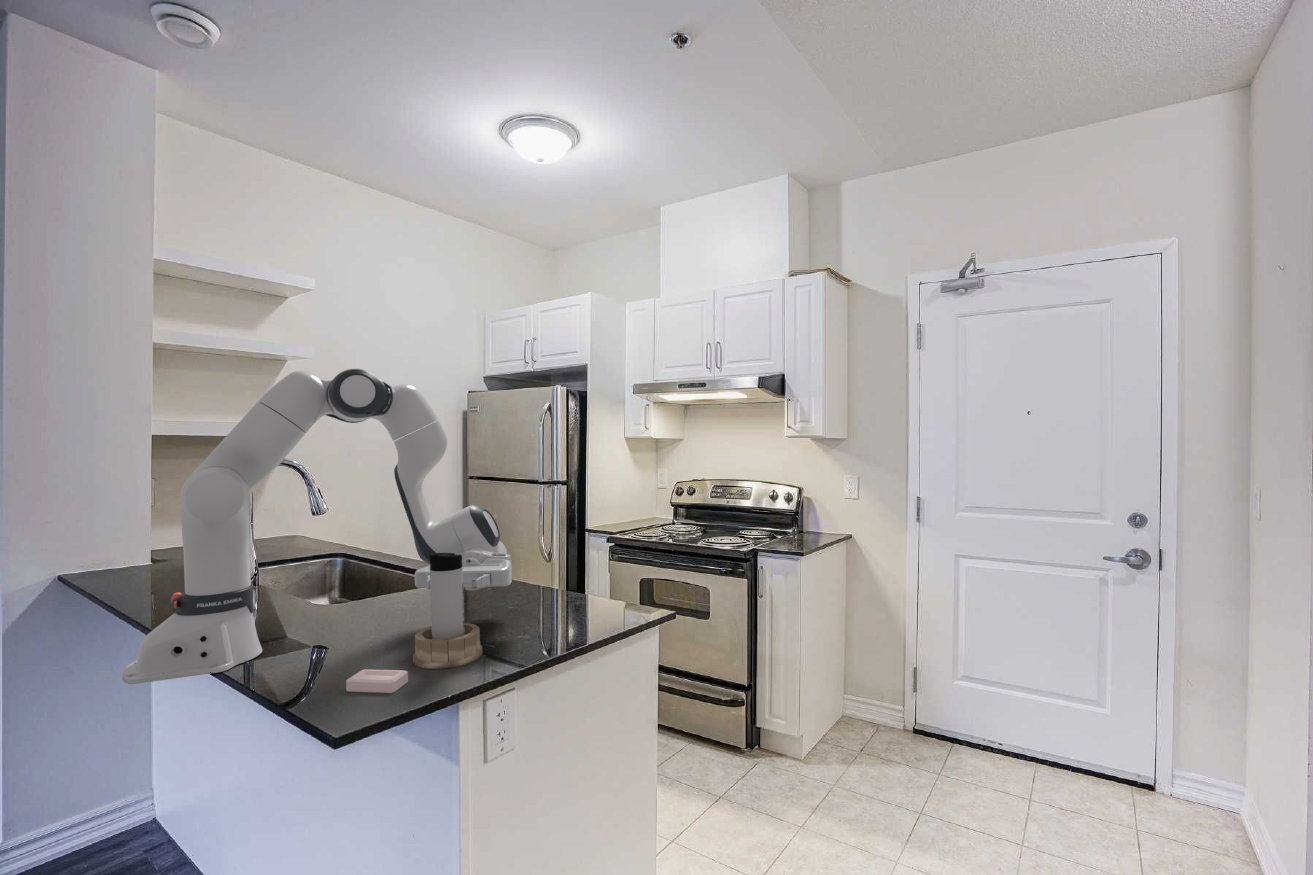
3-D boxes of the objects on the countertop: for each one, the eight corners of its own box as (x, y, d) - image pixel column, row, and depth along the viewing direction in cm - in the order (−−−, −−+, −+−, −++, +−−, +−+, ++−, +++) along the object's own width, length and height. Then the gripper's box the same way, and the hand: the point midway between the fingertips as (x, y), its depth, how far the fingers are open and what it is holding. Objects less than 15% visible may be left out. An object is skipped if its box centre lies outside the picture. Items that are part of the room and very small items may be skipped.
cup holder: (422, 674, 120) (421, 647, 120) (406, 654, 131) (405, 629, 131) (491, 658, 127) (490, 633, 127) (470, 641, 138) (470, 617, 138)
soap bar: (393, 694, 112) (392, 680, 112) (344, 693, 113) (344, 679, 113) (409, 682, 117) (409, 669, 117) (362, 681, 118) (362, 667, 118)
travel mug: (424, 653, 128) (421, 553, 128) (451, 643, 134) (448, 547, 133) (444, 659, 125) (441, 556, 124) (471, 648, 130) (468, 550, 130)
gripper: (427, 556, 146) (401, 570, 132) (517, 554, 145) (500, 568, 131) (428, 584, 146) (402, 600, 132) (518, 582, 145) (501, 599, 131)
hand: (452, 584), depth 132 cm, fingers open, 8 cm apart
